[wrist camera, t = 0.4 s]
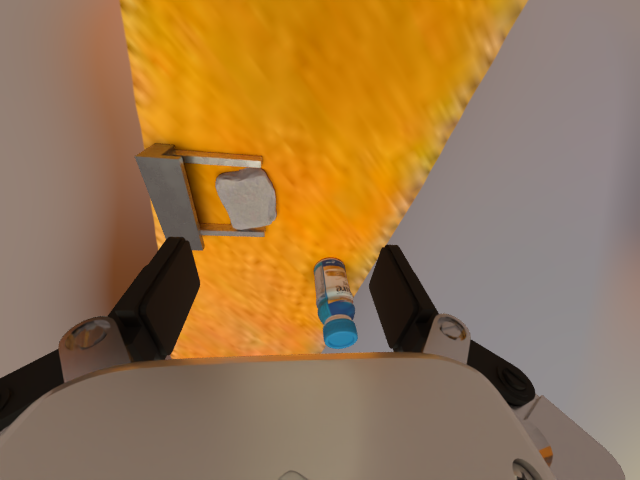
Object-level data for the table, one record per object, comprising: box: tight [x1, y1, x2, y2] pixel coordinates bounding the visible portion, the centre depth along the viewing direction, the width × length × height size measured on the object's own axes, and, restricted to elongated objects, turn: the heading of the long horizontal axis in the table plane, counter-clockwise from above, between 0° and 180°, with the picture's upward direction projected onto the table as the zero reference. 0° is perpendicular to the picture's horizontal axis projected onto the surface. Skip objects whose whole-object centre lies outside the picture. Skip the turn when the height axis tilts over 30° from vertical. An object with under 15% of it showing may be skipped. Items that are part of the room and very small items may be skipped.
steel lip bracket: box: [135, 143, 265, 250], centre depth 43 cm, size 18×18×6 cm
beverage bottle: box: [314, 258, 358, 349], centre depth 53 cm, size 8×8×20 cm
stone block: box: [216, 168, 277, 230], centre depth 46 cm, size 12×5×10 cm
